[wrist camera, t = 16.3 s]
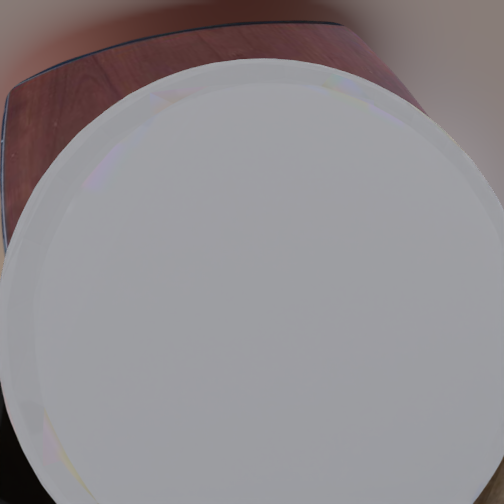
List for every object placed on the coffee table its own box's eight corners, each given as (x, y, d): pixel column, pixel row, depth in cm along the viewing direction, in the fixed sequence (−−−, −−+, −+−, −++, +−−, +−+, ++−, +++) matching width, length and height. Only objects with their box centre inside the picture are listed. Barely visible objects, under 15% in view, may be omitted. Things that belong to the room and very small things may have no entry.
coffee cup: (284, 230, 17) (414, 57, 6) (346, 390, 15) (557, 408, 4) (114, 282, 14) (-26, 122, 3) (178, 458, 12) (166, 650, 1)
